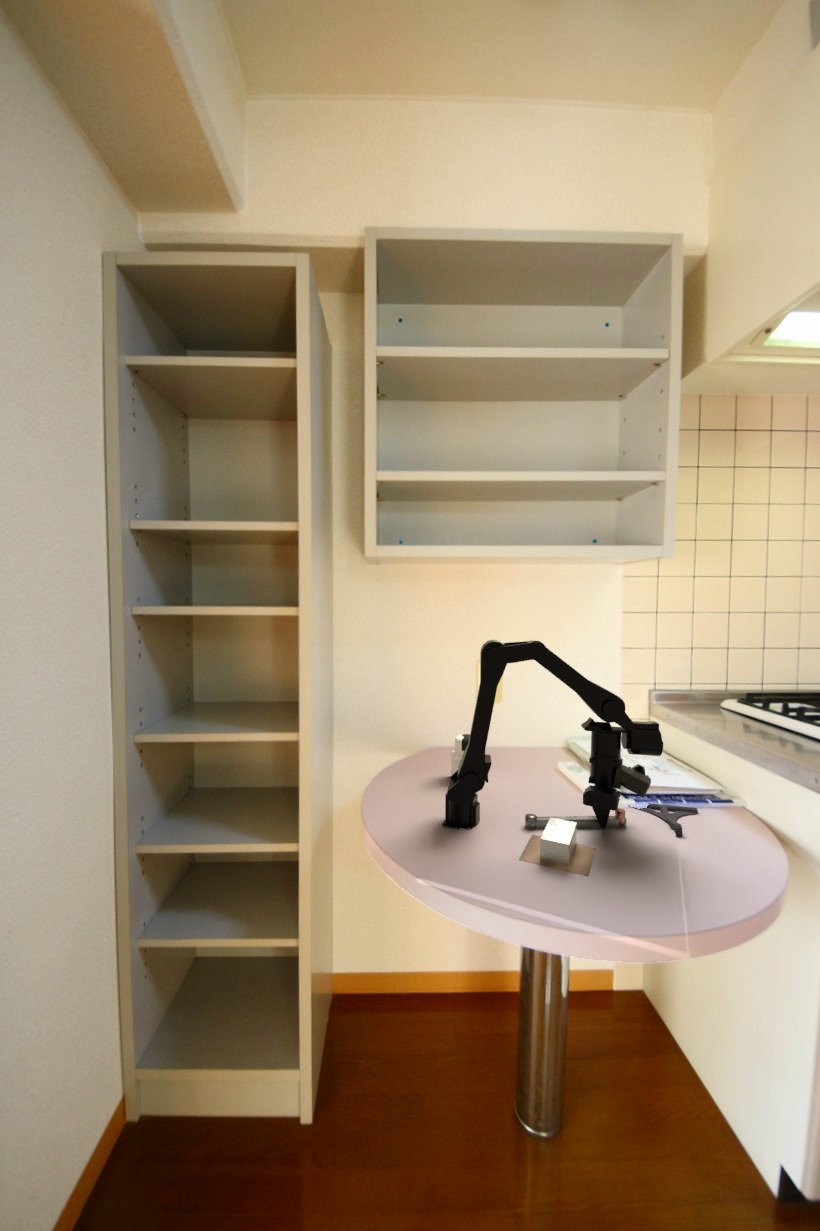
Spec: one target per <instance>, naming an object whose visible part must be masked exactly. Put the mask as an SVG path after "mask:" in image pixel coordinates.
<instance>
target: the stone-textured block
mask: <svg viewBox="0 0 820 1231" xmlns="http://www.w3.org/2000/svg"><path fill="white" fill-rule="evenodd" d="M549 817H550V820H549V822H548V824H547V826H546V828H544V830H543V832H542V834H541V838H540V860H541V861H545V862H549V863H554V864H558V865H562V866H566V867H569V864H570V861H571V858H572V855H573V852H574V849H575V846H576V844H578V843H577V842H578V841H577V838H578V837H577V836H578V835H577V834H578V832H577V831H578V830H577V829H578V828H577V822H572V821H567V820H562V819H557V818H551V817H552V816H549Z"/></svg>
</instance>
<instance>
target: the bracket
mask: <svg viewBox="0 0 820 1231" xmlns="http://www.w3.org/2000/svg"><path fill="white" fill-rule="evenodd" d="M647 803H648V802H647ZM648 804H649V805H648V806H647V808H642V809H641V808H640V809H639V810H638V811H641V812H645V813H647V814H650V815H654V816H656V817H657V818H659V819H661V820H662V821H664V822H665V823H667V824H668V826H669V828H670V829H671V830H670V831H674V833H675V837H680V838H681V837H683V827H682V824H681V823H679V822H677V821H678V819H679V818H683V817H686V816H695V815H698V814H699V811H698V808H697V807H690V806H681V805H673V804H660V803H652V802H651V803H650V802H649V803H648ZM670 812H671V813H670Z"/></svg>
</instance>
